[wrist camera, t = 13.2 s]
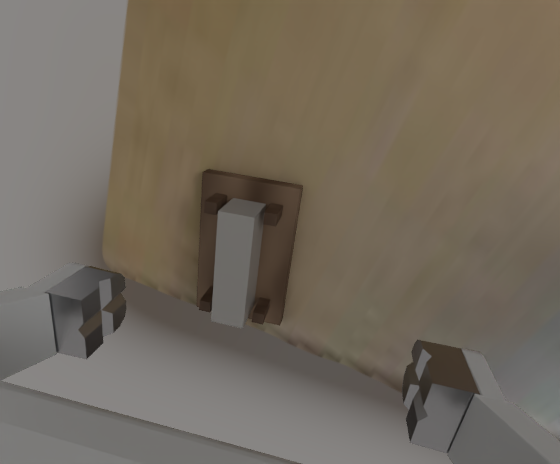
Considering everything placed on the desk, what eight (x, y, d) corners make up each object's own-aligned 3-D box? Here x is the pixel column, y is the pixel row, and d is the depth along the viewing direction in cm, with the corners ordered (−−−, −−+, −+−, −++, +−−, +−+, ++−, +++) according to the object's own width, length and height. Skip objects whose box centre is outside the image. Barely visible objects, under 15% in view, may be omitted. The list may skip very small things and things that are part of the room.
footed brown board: (302, 185, 36) (296, 197, 32) (282, 317, 42) (274, 342, 38) (208, 169, 37) (190, 178, 33) (201, 299, 43) (185, 321, 39)
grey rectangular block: (265, 203, 36) (254, 217, 32) (254, 305, 40) (242, 328, 36) (233, 197, 36) (218, 210, 32) (225, 298, 41) (210, 321, 37)
